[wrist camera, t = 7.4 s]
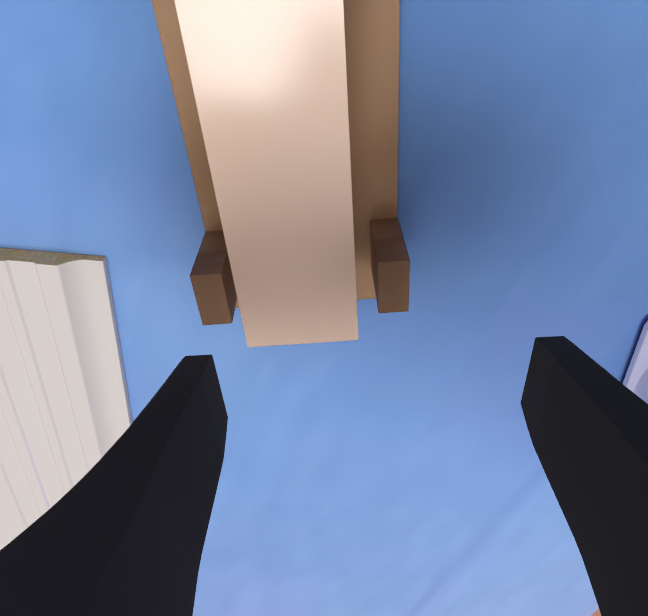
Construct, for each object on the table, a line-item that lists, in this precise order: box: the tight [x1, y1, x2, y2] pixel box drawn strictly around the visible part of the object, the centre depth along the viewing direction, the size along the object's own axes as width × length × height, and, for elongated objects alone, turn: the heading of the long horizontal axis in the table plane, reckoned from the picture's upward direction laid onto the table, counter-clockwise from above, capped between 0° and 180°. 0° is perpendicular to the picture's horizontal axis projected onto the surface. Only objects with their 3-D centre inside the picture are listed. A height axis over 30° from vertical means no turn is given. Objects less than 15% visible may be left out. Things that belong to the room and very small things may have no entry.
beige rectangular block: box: [174, 0, 359, 347], centre depth 15 cm, size 4×12×4 cm, turn 4°
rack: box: [152, 0, 410, 325], centre depth 16 cm, size 7×15×4 cm, turn 4°
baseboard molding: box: [0, 248, 133, 550], centre depth 29 cm, size 31×3×12 cm
